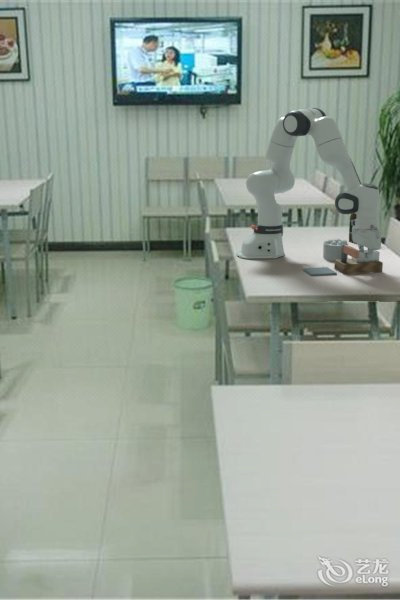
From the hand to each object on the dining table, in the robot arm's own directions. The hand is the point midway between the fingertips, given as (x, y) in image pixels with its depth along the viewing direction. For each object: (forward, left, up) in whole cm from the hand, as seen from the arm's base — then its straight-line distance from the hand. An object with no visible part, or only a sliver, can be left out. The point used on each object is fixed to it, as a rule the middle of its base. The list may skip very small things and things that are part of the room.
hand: (365, 256), depth 288 cm
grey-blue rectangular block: (0, 0, -2) cm, 2 cm away
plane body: (-3, 0, -6) cm, 6 cm away
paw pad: (-3, +24, -6) cm, 25 cm away
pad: (-20, 0, -6) cm, 21 cm away
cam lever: (-10, -6, -2) cm, 11 cm away
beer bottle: (+22, +62, -6) cm, 66 cm away
